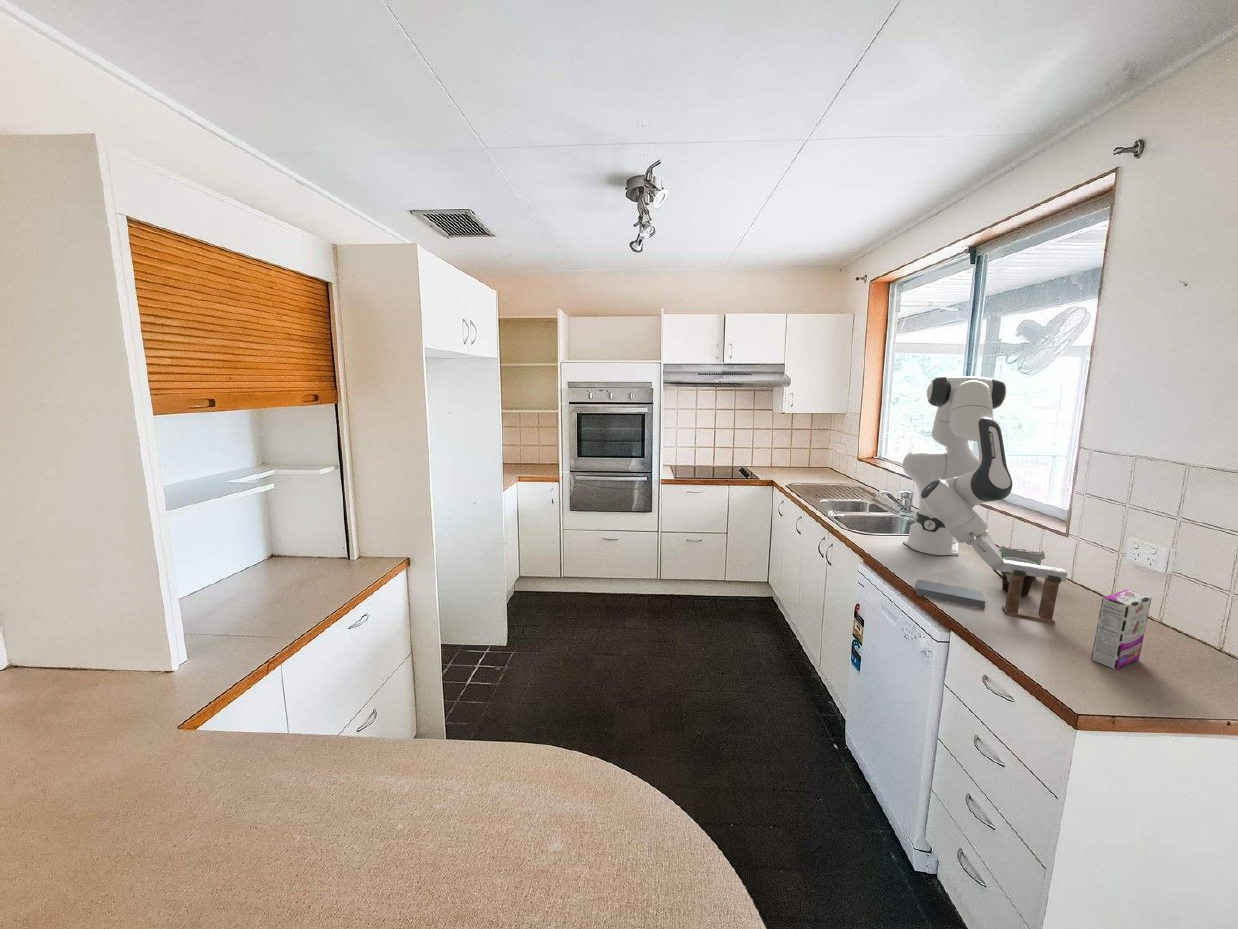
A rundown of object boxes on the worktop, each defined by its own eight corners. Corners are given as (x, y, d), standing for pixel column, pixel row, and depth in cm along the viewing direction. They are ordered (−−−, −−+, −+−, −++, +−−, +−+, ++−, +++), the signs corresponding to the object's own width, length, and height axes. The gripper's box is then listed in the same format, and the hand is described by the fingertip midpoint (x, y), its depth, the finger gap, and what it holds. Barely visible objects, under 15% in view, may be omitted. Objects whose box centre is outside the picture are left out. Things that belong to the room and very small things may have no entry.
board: (916, 595, 150) (917, 588, 150) (915, 586, 157) (916, 579, 156) (984, 609, 142) (985, 601, 141) (980, 598, 149) (981, 591, 148)
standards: (1004, 614, 139) (1012, 570, 136) (1001, 607, 143) (1009, 565, 140) (1055, 624, 133) (1063, 579, 131) (1050, 617, 138) (1058, 573, 135)
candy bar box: (1112, 650, 121) (1125, 588, 118) (1139, 660, 117) (1154, 597, 114) (1088, 659, 117) (1101, 596, 114) (1115, 671, 112) (1130, 605, 109)
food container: (1001, 579, 164) (1006, 550, 162) (995, 572, 169) (1000, 545, 167) (1047, 585, 159) (1052, 556, 157) (1039, 578, 165) (1044, 550, 163)
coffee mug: (1040, 598, 149) (1045, 567, 147) (1011, 598, 149) (1017, 567, 148) (1010, 582, 161) (1015, 554, 159) (984, 582, 161) (989, 553, 159)
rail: (992, 569, 139) (993, 560, 139) (990, 565, 142) (992, 557, 142) (1065, 581, 132) (1067, 572, 131) (1062, 578, 134) (1064, 569, 134)
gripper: (984, 533, 132) (1024, 574, 129) (975, 514, 149) (1009, 551, 146) (962, 545, 135) (1000, 586, 132) (955, 526, 152) (989, 562, 149)
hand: (1005, 567), depth 139 cm, fingers closed on rail, 3 cm apart
